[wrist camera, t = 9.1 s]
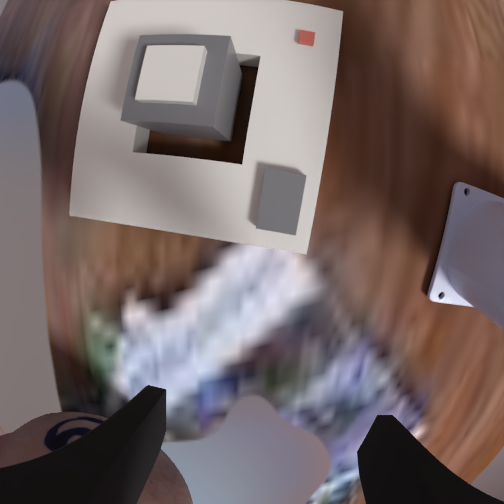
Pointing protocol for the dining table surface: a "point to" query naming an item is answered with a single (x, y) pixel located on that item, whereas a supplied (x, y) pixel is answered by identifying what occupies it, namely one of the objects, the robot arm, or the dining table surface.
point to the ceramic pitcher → (73, 427)
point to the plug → (184, 86)
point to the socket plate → (258, 135)
